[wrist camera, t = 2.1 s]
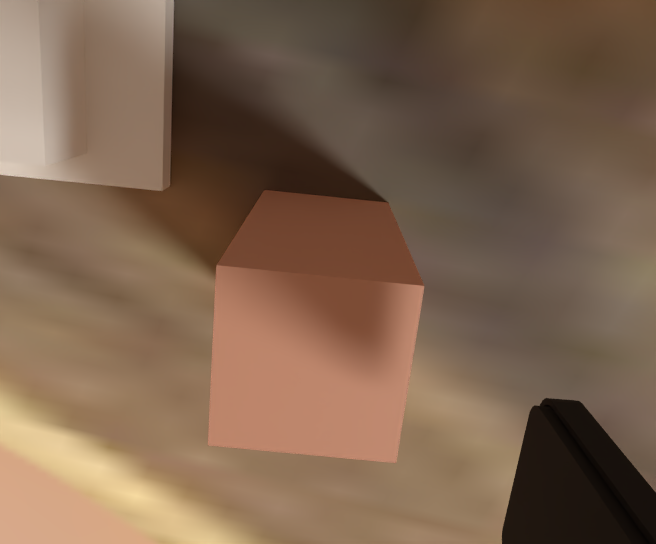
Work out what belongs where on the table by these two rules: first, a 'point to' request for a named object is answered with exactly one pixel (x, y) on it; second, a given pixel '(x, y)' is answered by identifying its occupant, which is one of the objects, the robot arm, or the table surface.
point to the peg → (314, 329)
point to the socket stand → (87, 91)
